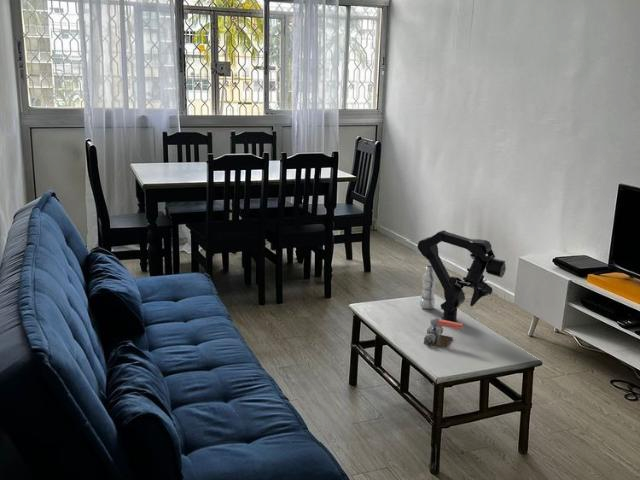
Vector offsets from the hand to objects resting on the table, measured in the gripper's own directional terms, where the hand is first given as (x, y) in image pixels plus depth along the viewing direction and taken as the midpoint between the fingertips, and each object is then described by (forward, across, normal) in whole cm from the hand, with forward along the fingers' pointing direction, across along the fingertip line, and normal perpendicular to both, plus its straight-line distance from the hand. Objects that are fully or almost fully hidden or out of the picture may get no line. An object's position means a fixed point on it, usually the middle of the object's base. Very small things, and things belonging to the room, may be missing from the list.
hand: (462, 304), depth 253 cm
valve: (+18, +3, +1) cm, 18 cm away
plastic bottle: (+2, +30, -15) cm, 34 cm away
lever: (+12, 0, +4) cm, 12 cm away
